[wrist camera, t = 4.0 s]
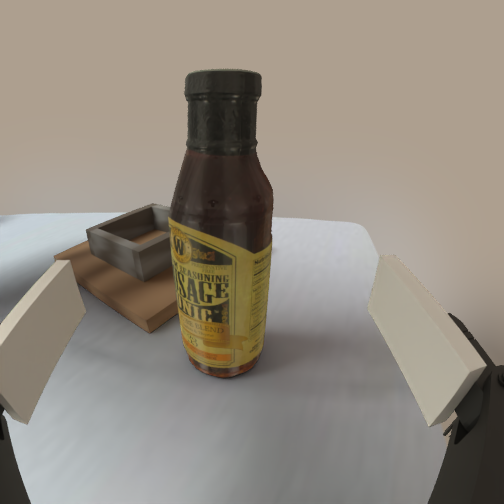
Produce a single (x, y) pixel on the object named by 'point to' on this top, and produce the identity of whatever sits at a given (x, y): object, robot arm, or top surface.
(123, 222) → the socket block
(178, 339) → the top surface
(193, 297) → the sauce bottle
